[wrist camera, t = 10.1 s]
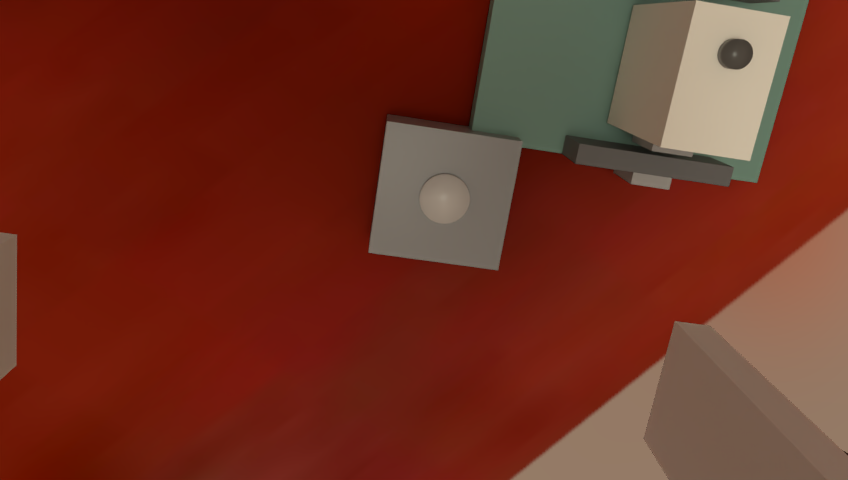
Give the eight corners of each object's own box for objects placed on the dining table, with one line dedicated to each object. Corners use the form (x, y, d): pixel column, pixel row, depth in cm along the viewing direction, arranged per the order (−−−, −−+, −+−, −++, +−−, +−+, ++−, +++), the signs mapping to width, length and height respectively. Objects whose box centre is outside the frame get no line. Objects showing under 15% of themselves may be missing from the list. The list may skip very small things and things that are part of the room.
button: (387, 114, 40) (387, 121, 37) (513, 133, 41) (523, 142, 37) (369, 236, 42) (368, 254, 39) (490, 253, 43) (498, 272, 39)
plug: (633, 4, 37) (702, -1, 29) (709, 17, 38) (798, 16, 29) (604, 134, 39) (661, 163, 31) (677, 145, 39) (752, 177, 31)
